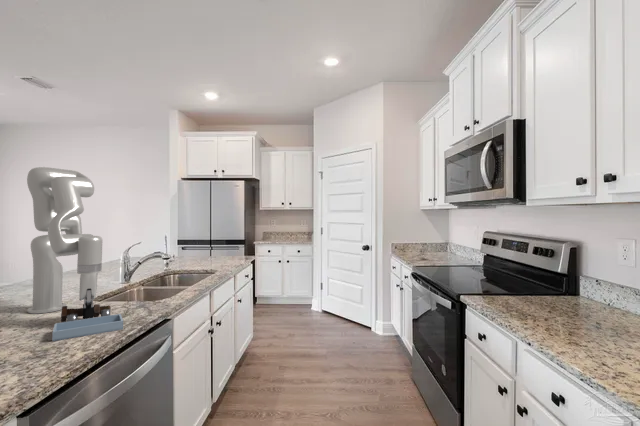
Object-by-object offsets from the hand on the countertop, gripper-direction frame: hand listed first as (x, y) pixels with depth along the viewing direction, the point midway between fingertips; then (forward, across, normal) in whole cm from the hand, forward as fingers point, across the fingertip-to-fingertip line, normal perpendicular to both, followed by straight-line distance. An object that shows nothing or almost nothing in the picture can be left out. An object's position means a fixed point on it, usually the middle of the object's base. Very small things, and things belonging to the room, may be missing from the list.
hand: (87, 315), depth 121 cm
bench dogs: (+2, +5, 0) cm, 6 cm away
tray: (+2, +13, 0) cm, 13 cm away
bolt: (+1, 0, 0) cm, 1 cm away
